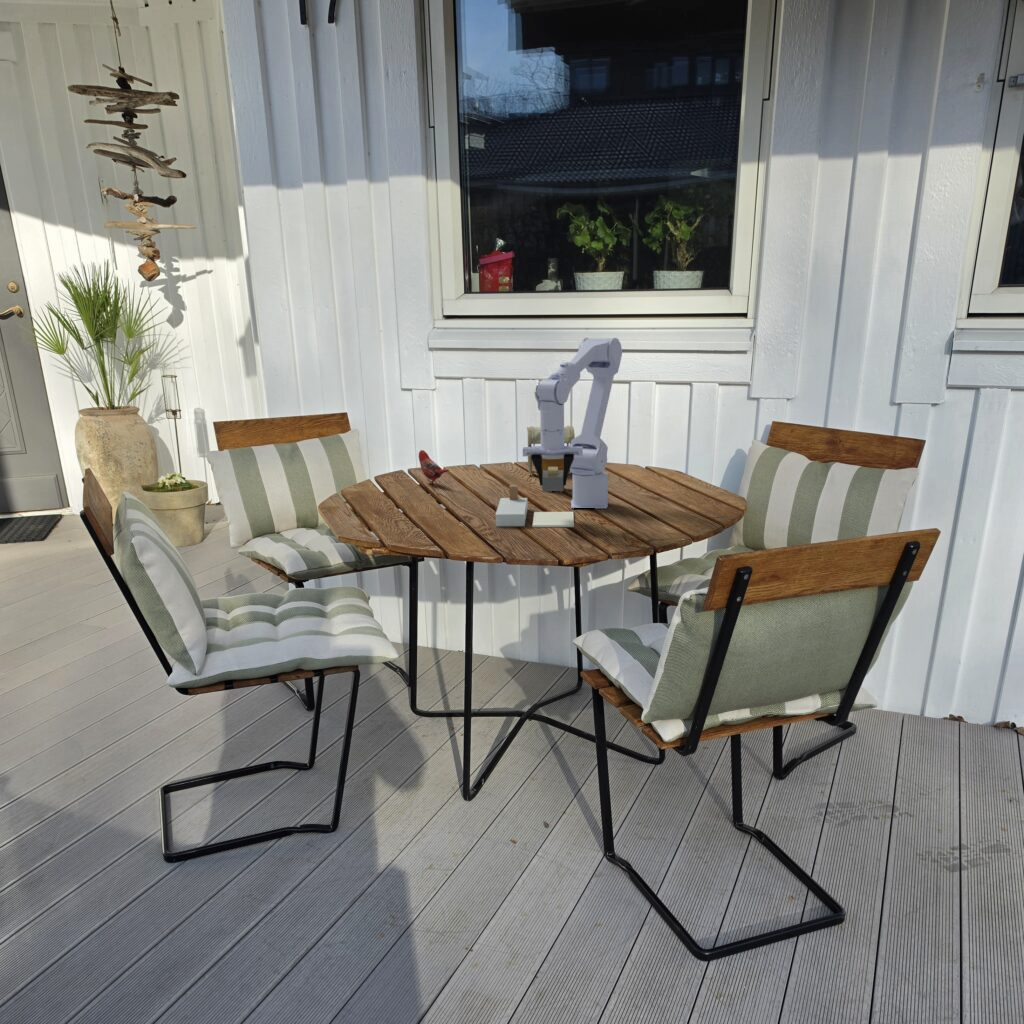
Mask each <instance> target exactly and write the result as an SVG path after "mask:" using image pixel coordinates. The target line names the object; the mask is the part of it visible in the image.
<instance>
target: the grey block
mask: <svg viewBox="0 0 1024 1024" xmlns="http://www.w3.org/2000/svg"><path fill="white" fill-rule="evenodd" d="M541 488H542V489H541V490H542V491H541V492H545V493H553V492H552V491H560V492H564V490H563V470H558V467H548V470H543V475H542V485H541Z"/></svg>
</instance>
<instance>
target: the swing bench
mask: <svg viewBox="0 0 1024 1024" xmlns="http://www.w3.org/2000/svg"><path fill="white" fill-rule="evenodd" d="M526 430H527V447H536V446H535V445H541V430H540V426H532V425H530V426H529V427H526ZM575 434H576V433H575V428H574V426H572V425H571V426H570V425H566V426H564V444H566V446H570V444H571V441H572V440H573V439H574V438H576V437H575V436H576V435H575ZM533 467H535V466H534V464H533V462H532V460H531V456H527V469H528V468H529V470H528V475H529V474H532V475H535V474H534V473H537V471H533ZM568 474H571V473H570V470H569V472H568Z"/></svg>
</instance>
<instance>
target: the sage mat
mask: <svg viewBox="0 0 1024 1024" xmlns="http://www.w3.org/2000/svg"><path fill="white" fill-rule="evenodd" d="M574 517H575V516H574V511H534V512H533V521H532V525H531V526H532V528H574V527H575V523H574V521H575V520H574V519H575V518H574Z"/></svg>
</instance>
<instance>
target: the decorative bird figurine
mask: <svg viewBox="0 0 1024 1024" xmlns="http://www.w3.org/2000/svg"><path fill="white" fill-rule="evenodd" d="M418 460H419V465H420V468H421V472H422V473H423V475H424V476H425V477H426V478H427V479H429V481H428V482H430V483H434V485H436V483H435V481H436V480H437V479H439V478H441V477H442V475H443V473H447V472H449V471H450V469H449V468H447V469H443V468H441V467H440V466H439V465H438V464H437V463H436V462H435V461H434V460H432V459H431V458H430V457H429V455H428V453H427V452H426V451H425V450H424V449H423V450H422V449H421V450H420V451H419V452H418ZM430 480H431V481H430Z"/></svg>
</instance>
